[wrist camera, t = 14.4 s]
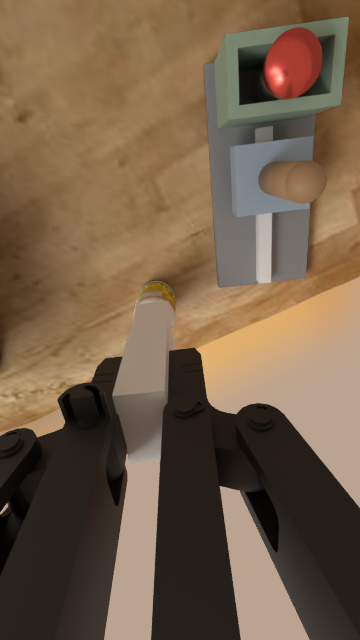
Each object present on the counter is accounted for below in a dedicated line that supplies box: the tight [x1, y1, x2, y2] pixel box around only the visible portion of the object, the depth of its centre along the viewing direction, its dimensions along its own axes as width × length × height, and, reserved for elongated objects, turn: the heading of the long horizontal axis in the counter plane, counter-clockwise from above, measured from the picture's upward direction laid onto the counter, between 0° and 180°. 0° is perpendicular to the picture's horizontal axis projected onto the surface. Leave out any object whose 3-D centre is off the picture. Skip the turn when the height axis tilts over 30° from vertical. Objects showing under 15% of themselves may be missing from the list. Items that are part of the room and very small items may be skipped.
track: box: [203, 17, 349, 288], centre depth 35 cm, size 12×25×10 cm, turn 7°
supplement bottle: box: [133, 281, 175, 327], centre depth 42 cm, size 5×5×10 cm
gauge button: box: [250, 27, 323, 103], centre depth 29 cm, size 4×4×9 cm
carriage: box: [230, 136, 327, 217], centre depth 31 cm, size 8×7×15 cm
